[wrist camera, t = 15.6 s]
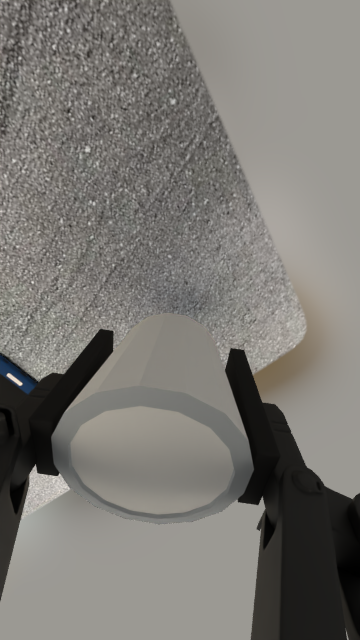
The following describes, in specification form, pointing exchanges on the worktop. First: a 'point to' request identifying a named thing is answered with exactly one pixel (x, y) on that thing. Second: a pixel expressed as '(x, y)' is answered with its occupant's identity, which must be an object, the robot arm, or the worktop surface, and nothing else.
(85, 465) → the white cup
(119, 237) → the worktop surface
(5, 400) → the cell phone
